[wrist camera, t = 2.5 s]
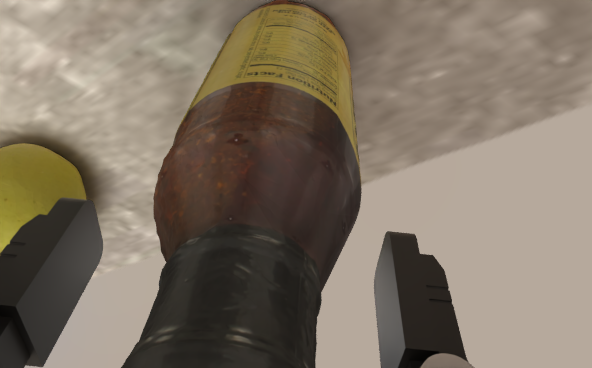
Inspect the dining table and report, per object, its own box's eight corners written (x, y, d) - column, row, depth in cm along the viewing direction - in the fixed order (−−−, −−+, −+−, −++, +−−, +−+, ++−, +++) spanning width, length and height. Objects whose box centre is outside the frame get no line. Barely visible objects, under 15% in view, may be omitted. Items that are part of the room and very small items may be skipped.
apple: (-69, 150, 28) (-167, 260, 20) (57, 108, 29) (11, 200, 20) (9, 243, 33) (-44, 363, 25) (118, 205, 33) (100, 312, 25)
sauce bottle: (294, 130, 27) (224, 567, 11) (204, 58, 25) (-45, 475, 9) (380, 48, 23) (457, 502, 8) (285, -43, 21) (122, 330, 6)
